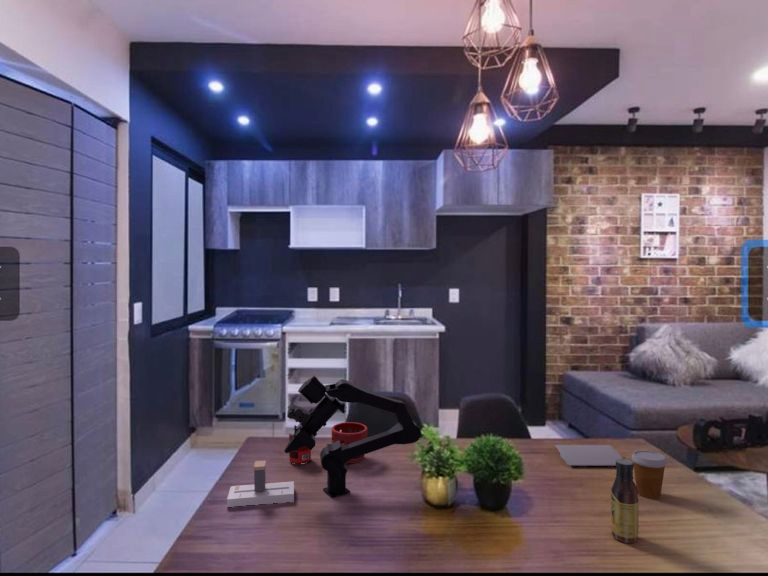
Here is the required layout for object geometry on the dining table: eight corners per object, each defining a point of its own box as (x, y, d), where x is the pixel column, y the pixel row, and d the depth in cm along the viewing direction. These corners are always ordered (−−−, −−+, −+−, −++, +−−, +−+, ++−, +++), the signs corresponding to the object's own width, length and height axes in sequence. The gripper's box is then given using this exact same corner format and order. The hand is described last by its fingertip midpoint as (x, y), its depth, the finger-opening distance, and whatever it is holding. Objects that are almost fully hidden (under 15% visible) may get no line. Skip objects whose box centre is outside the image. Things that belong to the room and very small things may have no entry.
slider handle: (266, 484, 149) (265, 460, 148) (265, 491, 144) (264, 466, 144) (255, 485, 148) (255, 461, 148) (254, 492, 143) (253, 467, 143)
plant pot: (325, 464, 173) (325, 430, 173) (339, 451, 186) (339, 420, 185) (360, 468, 169) (360, 433, 169) (372, 455, 182) (372, 423, 182)
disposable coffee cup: (630, 497, 146) (631, 457, 146) (631, 485, 154) (631, 447, 154) (667, 504, 141) (667, 463, 141) (665, 491, 150) (666, 452, 150)
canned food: (313, 457, 179) (313, 427, 179) (307, 465, 171) (307, 434, 171) (293, 456, 180) (292, 427, 180) (286, 465, 172) (286, 434, 172)
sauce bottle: (614, 529, 127) (614, 454, 127) (640, 537, 123) (641, 459, 123) (607, 539, 122) (608, 461, 122) (634, 548, 118) (635, 467, 118)
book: (549, 453, 184) (549, 443, 184) (610, 453, 183) (610, 443, 183) (564, 469, 168) (564, 458, 168) (630, 469, 168) (630, 458, 168)
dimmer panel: (294, 489, 152) (293, 481, 152) (294, 502, 143) (293, 493, 143) (231, 494, 149) (230, 486, 149) (227, 507, 140) (226, 499, 140)
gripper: (302, 389, 157) (267, 425, 155) (303, 403, 139) (264, 444, 137) (326, 412, 159) (292, 447, 157) (331, 429, 140) (292, 470, 138)
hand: (285, 451), depth 147 cm, fingers closed
